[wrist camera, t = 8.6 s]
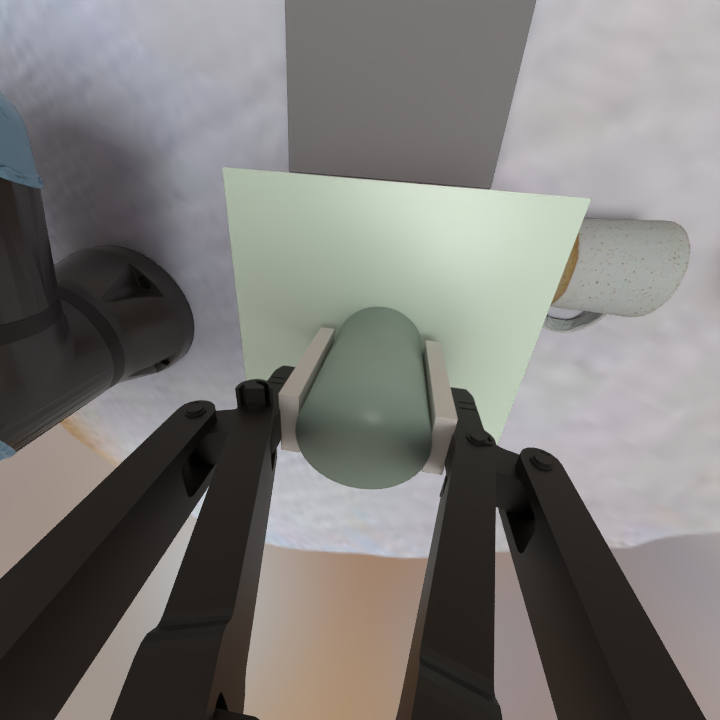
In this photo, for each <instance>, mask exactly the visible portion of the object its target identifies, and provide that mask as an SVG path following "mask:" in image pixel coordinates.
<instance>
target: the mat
mask: <svg viewBox="0 0 720 720" xmlns="http://www.w3.org/2000/svg"><path fill="white" fill-rule="evenodd" d="M535 4H536V0H285V18H286V58H287V97H288V136H289V171H290V172H301V173H313V174H324V175H336V176H347V177H359V178H371V179H382V180H394V181H406V182H417V183H429V184H441V185H452V186H464V187H476V188H487V189H491V185H492V181H493V176H494V172H495V168H496V164H497V160H498V156H499V152H500V148H501V144H502V139H503V135H504V131H505V127H506V123H507V119H508V115H509V111H510V107H511V102H512V98H513V94H514V90H515V86H516V82H517V78H518V74H519V70H520V65H521V61H522V57H523V53H524V49H525V45H526V41H527V37H528V33H529V28H530V24H531V20H532V16H533V12H534V8H535Z"/></svg>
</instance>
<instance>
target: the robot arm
mask: <svg viewBox="0 0 720 720" xmlns="http://www.w3.org/2000/svg"><path fill="white" fill-rule="evenodd" d="M42 188H44V183H43V180H42V179H41V177H40V176H38V174H37V170H36V166H35V162H34V158H33V154H32V150H31V146H30V142H29V138H28V134H27V130H26V126H25V123H24V121H23V119H22V117H21V115H20V113H19V112H18V110H17V109H16V108H15V106H14V105H13V104H12V103H11V102H10V101H9V100H8V99H7V98H6V97H5V96H4V95H3V94H2V93H0V460H2V459H6V458H10V457H12V456H13V455H14V454H15V453H16V452H17V451H19V450H20V449H22V448H23V447H24V446H26V445H27V444H29V443H30V442H32V441H33V440H35V439H36V438H38V437H39V436H41V435H42V434H43V433H45V432H46V431H48V430H49V429H51V428H52V427H53V426H55V425H56V424H58V423H60V422H61V421H62V420H64V419H65V418H67V417H68V416H70V415H71V414H73V413H74V412H76V411H77V410H79V409H80V408H81V407H83V406H84V405H86V404H87V403H89V402H90V401H92V400H93V399H95V398H96V397H98V396H99V395H100V394H102V393H103V392H105V391H106V390H108V389H109V388H111V387H112V386H114V385H115V384H117V383H120V382H123V381H127V380H131V379H135V378H138V377H142V376H146V375H150V374H153V373H157V372H160V371H162V370H165V369H166V368H168V367H170V366H171V365H173V364H174V363H175V362H177V361H178V360H179V359H181V358H182V357H183V356H184V355H185V354H186V353H187V351H188V350H189V348H190V345H191V343H192V339H193V319H192V314H191V311H190V308H189V305H188V303H187V301H186V299H185V297H184V295H183V293H182V292H181V290H180V289H179V287H178V286H177V285H176V283H175V282H174V281H173V280H172V278H171V277H170V276H169V275H168V274H167V273H166V272H165V271H164V270H163V269H162V268H160V267H159V266H158V265H157V264H155V263H154V262H153V261H151V260H150V259H148V258H147V257H145V256H143V255H141V254H139V253H137V252H135V251H132V250H130V249H126V248H122V247H117V246H100V247H94V248H89V249H84V250H80V251H77V252H75V253H72V254H70V255H69V256H67V257H66V258H64V259H63V260H61V261H60V262H58V263H57V264H55V265H54V264H53V259H52V253H51V248H50V242H49V236H48V231H47V225H46V219H45V214H44V208H43V202H42V197H41V191H40V189H42ZM334 333H335V329H331V328H323V327H321V328H320V330H319V331H318V333H317V334H316V336H315V338H314V339H313V341H312V342H311V344H310V345H309V347H308V349H307V350H306V352H305V353H304V355H303V356H302V358H301V359H300V361H299V363H298V364H297V366H296V367H291V366H284V365H283V366H281V367H279V368H278V369H276V370H275V371H274V372H273V373H272V375H271V376H270V377H269V379H268V380H267V381H266V380H263V379H251V380H247V381H244V382H242V383H240V384H239V385H238V386H237V387H236V388H235V390H236V398H237V405H238V407H237V409H233V410H221V411H216V410H215V405H214V404H213V403H212V402H209V401H203V400H198V401H193V402H189V403H187V404H184V405H183V406H181V407H180V408H179V409H177V410H176V411H175V412H174V413H173V414H172V415H171V416H170V417H169V418H168V419H167V420H166V421H165V422H164V423H163V424H162V425H161V426H160V427H159V428H158V429H157V430H156V431H154V432H153V433H152V434H151V435H150V436H149V437H148V438H147V439H146V440H145V441H144V442H143V443H142V444H141V445H140V446H139V447H138V448H137V449H136V450H135V451H134V452H133V453H132V454H130V455H129V456H128V457H127V458H126V459H125V460H124V461H123V462H122V463H121V464H120V465H119V466H118V467H117V468H116V469H115V470H114V471H113V472H112V473H111V474H110V475H109V476H108V477H107V478H105V479H104V480H103V481H102V482H101V483H100V484H99V485H98V486H97V487H96V488H95V489H94V490H93V491H92V492H91V493H90V494H89V495H88V496H87V497H86V498H84V499H83V500H82V501H81V502H80V503H79V504H78V505H77V506H76V507H75V508H74V509H73V510H72V511H71V512H70V513H69V514H68V515H67V516H66V517H65V518H64V519H63V520H61V522H59V523H58V524H57V525H56V527H54V528H53V529H52V530H51V531H50V532H49V533H48V534H47V535H46V536H45V537H44V538H43V539H42V540H41V541H40V542H39V543H37V545H35V546H34V547H33V548H32V549H31V550H30V551H29V552H28V553H27V554H26V555H25V556H24V557H23V558H22V559H21V560H20V561H19V562H18V563H17V564H16V565H14V566H13V567H12V568H11V569H10V570H9V571H8V572H7V573H6V574H5V575H4V576H3V577H2V578H1V579H0V720H54V719H55V718H56V716H57V715H58V713H59V712H60V710H61V708H62V707H63V706H64V704H65V703H66V701H67V700H68V698H69V696H70V695H71V693H72V692H73V690H74V689H75V687H76V686H77V684H78V683H79V681H80V680H81V678H82V677H83V675H84V674H85V672H86V671H87V669H88V668H89V666H90V665H91V663H92V662H93V660H94V659H95V657H96V656H97V654H98V653H99V651H100V650H101V648H102V647H103V645H104V644H105V642H106V640H107V639H108V638H109V636H110V635H111V633H112V632H113V630H114V629H115V627H116V626H117V624H118V622H119V621H120V620H121V618H122V616H123V615H124V613H125V612H126V610H127V609H128V607H129V606H130V604H131V603H132V601H133V600H134V598H135V597H136V595H137V594H138V592H139V591H140V589H141V588H142V586H143V585H144V583H145V582H146V580H147V578H148V577H149V576H150V574H151V572H152V571H153V570H154V568H155V567H156V565H157V564H158V562H159V561H160V559H161V558H162V556H163V555H164V553H165V552H166V550H167V549H168V547H169V545H170V544H171V543H172V541H173V539H174V538H175V536H176V535H177V533H178V532H179V530H180V529H181V527H182V526H183V524H184V523H185V521H186V520H187V518H188V517H189V515H190V514H191V512H192V511H193V509H194V508H195V506H196V505H197V503H198V502H199V500H200V499H201V497H202V496H203V494H204V493H205V491H206V490H207V488H208V487H209V488H208V491H207V494H206V497H205V499H204V502H203V505H202V508H201V510H200V513H199V516H198V519H197V522H196V525H195V527H194V530H193V533H192V536H191V538H190V541H189V544H188V547H187V549H186V552H185V556H184V558H183V561H182V564H181V566H180V569H179V572H178V575H177V577H176V580H175V583H174V586H173V588H172V591H171V594H170V597H169V600H168V603H167V605H166V608H165V611H164V614H163V616H162V618H161V621H160V622H159V624H158V626H157V627H156V628H154V629H153V630H152V631H150V632H149V633H148V634H147V635H146V636H145V638H144V639H143V641H142V642H141V644H140V646H139V648H138V651H137V653H136V655H135V657H134V659H133V662H132V665H131V667H130V670H129V672H128V675H127V678H126V680H125V683H124V685H123V688H122V690H121V693H120V696H119V698H118V701H117V703H116V706H115V709H114V711H113V714H112V716H111V719H110V720H259V719H258V718H256V717H254V716H249V715H244V714H243V710H244V699H245V676H246V665H247V658H248V652H249V645H250V638H251V631H252V625H253V618H254V610H255V604H256V597H257V591H258V583H259V577H260V570H261V563H262V556H263V550H264V543H265V536H266V529H267V522H268V515H269V509H270V502H271V495H272V488H273V481H274V474H275V468H276V461H277V446H278V444H279V442H280V440H281V450H287V451H293V452H300V449H299V446H298V444H297V440H296V433H295V428H296V421H297V417H298V415H299V413H300V410H301V408H302V406H303V404H304V402H305V400H306V398H307V396H308V394H309V392H310V390H311V388H312V386H313V384H314V382H315V380H316V378H317V376H318V374H319V372H320V369H321V367H322V365H323V363H324V361H325V359H326V357H327V355H328V353H329V351H330V349H331V347H332V345H333V343H334ZM423 360H424V369H425V379H426V388H427V397H428V407H429V416H430V425H431V434H432V448H431V453H430V456H429V459H428V460H427V462H426V464H425V465H424V467H423V468H422V472H428V473H434V474H441V475H442V473H443V470H444V466H445V469H446V476H445V479H444V483H443V486H442V490H441V493H440V497H441V498H440V503H439V508H438V513H437V518H436V523H435V528H434V533H433V538H432V543H431V548H430V553H429V558H428V563H427V568H426V574H425V579H424V584H423V589H422V594H421V599H420V604H419V609H418V614H417V619H416V624H415V629H414V634H413V639H412V645H411V649H410V654H409V659H408V664H407V669H406V674H405V680H404V684H403V690H402V694H401V699H400V704H399V709H398V713H397V717H396V720H502V714H501V708H500V705H499V704H498V702H497V700H496V698H495V694H494V609H495V606H494V604H495V520H496V507H498V510H499V513H500V517H501V520H502V524H503V527H504V531H505V534H506V538H507V542H508V545H509V549H510V552H511V556H512V559H513V562H514V566H515V570H516V573H517V577H518V580H519V584H520V588H521V591H522V594H523V598H524V602H525V605H526V608H527V612H528V616H529V619H530V623H531V626H532V629H533V634H534V637H535V640H536V644H537V648H538V651H539V655H540V658H541V661H542V665H543V669H544V672H545V676H546V679H547V683H548V687H549V690H550V694H551V697H552V701H553V704H554V708H555V711H556V715H557V718H558V720H706V719H705V717H704V715H703V713H702V711H701V710H700V708H699V706H698V705H697V703H696V701H695V699H694V698H693V696H692V694H691V692H690V690H689V689H688V687H687V685H686V683H685V681H684V680H683V678H682V676H681V674H680V673H679V671H678V669H677V667H676V666H675V664H674V662H673V660H672V658H671V657H670V655H669V653H668V651H667V650H666V648H665V646H664V644H663V643H662V641H661V639H660V637H659V635H658V634H657V632H656V630H655V628H654V627H653V625H652V623H651V621H650V620H649V618H648V616H647V614H646V612H645V611H644V609H643V607H642V605H641V604H640V602H639V600H638V599H637V597H636V595H635V593H634V591H633V589H632V588H631V586H630V584H629V583H628V581H627V579H626V577H625V575H624V574H623V572H622V570H621V568H620V567H619V565H618V563H617V561H616V559H615V558H614V556H613V554H612V552H611V551H610V549H609V547H608V545H607V543H606V542H605V540H604V538H603V536H602V535H601V533H600V531H599V529H598V528H597V526H596V524H595V522H594V520H593V519H592V517H591V515H590V513H589V512H588V510H587V508H586V506H585V505H584V503H583V501H582V499H581V497H580V496H579V494H578V492H577V490H576V489H575V487H574V485H573V483H572V482H571V480H570V478H569V476H568V474H567V473H566V471H565V469H564V467H563V466H562V464H561V463H560V462H559V460H558V459H557V458H555V457H554V456H553V455H551V454H550V453H548V452H546V451H544V450H541V449H537V448H525V449H523V450H522V451H521V453H520V455H519V454H516V453H513V452H510V451H508V450H505V449H503V448H501V447H499V446H497V445H496V442H495V439H494V438H493V437H492V435H491V434H489V433H488V432H486V431H485V430H484V428H483V425H482V422H481V419H480V416H479V413H478V411H477V407H476V405H475V401H474V398H473V396H472V395H471V394H470V393H469V392H468V391H467V390H466V389H461V388H453V387H450V384H449V379H448V375H447V371H446V366H445V362H444V358H443V353H442V349H441V345H440V342H436V341H428V340H426V341H425V346H424V351H423Z"/></svg>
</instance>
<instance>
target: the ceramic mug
mask: <svg viewBox="0 0 720 720" xmlns="http://www.w3.org/2000/svg"><path fill="white" fill-rule="evenodd" d="M689 257H690V243H689V238H688V235H687V233H686V231H685V230H684V228H683V227H682V226H680V225H679V224H677V223H675V222H671V221H652V220H614V219H586V218H584V219H583V222H582V224H581V227H580V229H579V232H578V235H577V237H576V240H575V242H574V245H573V248H572V250H571V253H570V256H569V258H568V261H567V263H566V266H565V269H564V271H563V274H562V276H561V279H560V282H559V284H558V287H557V290H556V292H555V295H554V297H553V300H552V303H551V305H550V306H553V307H557V308H562V309H569V310H583V311H589V312H588V313H587V314H585V315H583V316H581V317H578V318H575V319H572V320H561V319H555V318H551V317H550V316H546V318H545V321H544V323H543V326H542V327H543V328H546V329H548V330H551V331H555V332H574V331H578V330H581V329H584V328H587V327H589V326H591V325H593V324H595V323H596V322H598V321H599V320H601V319H602V318H603V317H605V316H606V315H607V314H610V315H617V316H625V317H639V316H645V315H647V314H650V313H651V312H653V311H655V310H657V309H658V308H659V307H661V306H662V305H663V304H664V303H665V302H666V301H667V300H668V299H669V298H670V297H671V296H672V295H673V293H674V292H675V291H676V289H677V287H678V286H679V285H680V283H681V281H682V279H683V277H684V274H685V272H686V269H687V266H688V261H689Z"/></svg>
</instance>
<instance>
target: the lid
mask: <svg viewBox="0 0 720 720" xmlns="http://www.w3.org/2000/svg"><path fill="white" fill-rule="evenodd" d="M222 172H223V181H224V190H225V199H226V207H227V216H228V225H229V234H230V243H231V252H232V261H233V270H234V278H235V287H236V296H237V305H238V314H239V323H240V332H241V341H242V349H243V358H244V367H245V376H246V381H247V380H251V379H263V380H266V381H267V380H268V379H269V377H270V376H271V375H272V373H273V372H274V371H275V370H276V369H278V368H279V367H281V366H283V365H284V366H291V367H296V366H297V364H298V363H299V361H300V359H301V358H302V356H303V355H304V353H305V352H306V350H307V349H308V347H309V345H310V344H311V342H312V341H313V339H314V338H315V336H316V334H317V333H318V331H319V330H320V328H321V327H323V328H331V329H335V333H334V343H333V345H332V347H331V349H330V351H329V353H328V355H327V357H326V359H325V361H324V363H323V365H322V367H321V369H320V372H319V374H318V376H317V378H316V380H315V382H314V384H313V386H312V388H311V390H310V392H309V394H308V396H307V398H306V400H305V402H304V404H303V406H302V408H301V410H300V413H299V415H298V417H297V421H296V428H295V433H296V440H297V444H298V446H299V449H300V451H301V453H302V454H303V456H304V458H305V459H306V460H307V461H308V463H309V464H310V465H311V466H312V467H313V468H314V469H316V470H317V471H318V472H319V473H321V474H322V475H324V476H325V477H327V478H329V479H331V480H333V481H335V482H337V483H340V484H342V485H346V486H349V487H354V488H360V489H383V488H389V487H392V486H396V485H399V484H401V483H404V482H405V481H407V480H409V479H411V478H412V477H414V476H415V475H416V474H417V473H418V472H419V471H420V470H421V469H422V468H423V467H424V465H425V464H426V462H427V460H428V459H429V456H430V453H431V448H432V434H431V425H430V416H429V407H428V397H427V388H426V379H425V369H424V360H423V351H424V346H425V341H426V340H428V341H436V342H440V345H441V349H442V353H443V358H444V362H445V366H446V371H447V375H448V379H449V384H450V387H453V388H461V389H466V390H467V391H468V392H469V393H470V394H471V395H472V396H473V398H474V401H475V405H476V407H477V411H478V413H479V416H480V419H481V422H482V425H483V428H484V430H485V431H486V432H488V433H489V434H491V435H492V437H493V438H494V439H495V442H496V445H497V444H498V441H499V439H500V436H501V433H502V431H503V428H504V425H505V423H506V420H507V418H508V415H509V412H510V410H511V407H512V405H513V402H514V399H515V397H516V394H517V391H518V389H519V386H520V384H521V381H522V378H523V376H524V373H525V371H526V368H527V365H528V363H529V360H530V357H531V355H532V352H533V350H534V347H535V344H536V342H537V339H538V337H539V334H540V331H541V329H542V326H543V323H544V321H545V318H546V316H547V313H548V310H549V308H550V305H551V303H552V300H553V297H554V295H555V292H556V290H557V287H558V284H559V282H560V279H561V276H562V274H563V271H564V269H565V266H566V263H567V261H568V258H569V256H570V253H571V250H572V248H573V245H574V242H575V240H576V237H577V235H578V232H579V229H580V227H581V224H582V222H583V219H584V216H585V214H586V211H587V208H588V206H589V203H590V201H591V199H588V198H577V197H565V196H554V195H542V194H530V193H519V192H507V191H495V190H484V189H472V188H460V187H449V186H437V185H425V184H414V183H402V182H390V181H379V180H367V179H355V178H344V177H332V176H320V175H309V174H297V173H285V172H274V171H262V170H250V169H239V168H227V167H222Z"/></svg>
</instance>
